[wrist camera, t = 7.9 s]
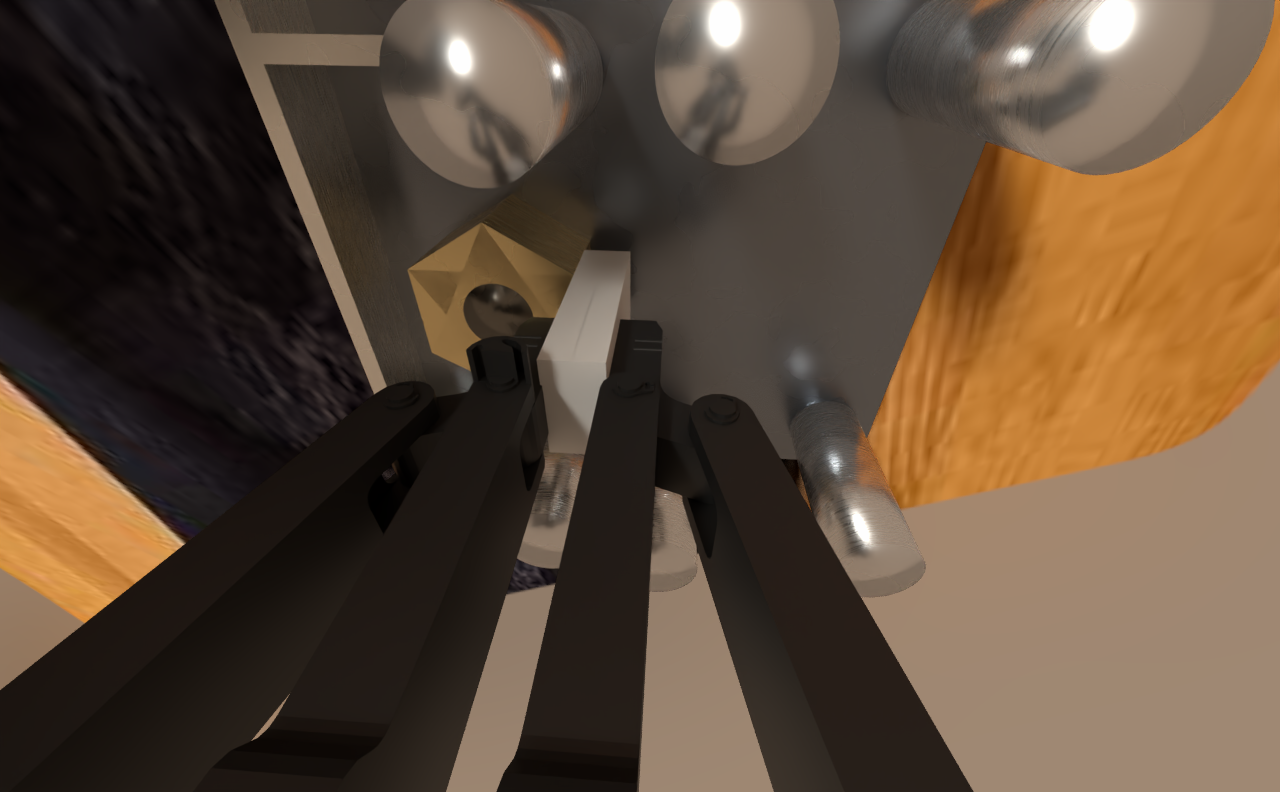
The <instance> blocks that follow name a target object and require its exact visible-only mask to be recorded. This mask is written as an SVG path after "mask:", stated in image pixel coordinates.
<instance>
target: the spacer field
mask: <svg viewBox="0 0 1280 792" xmlns="http://www.w3.org/2000/svg"><path fill="white" fill-rule="evenodd" d="M214 1H215V3H216V6H217V8H218V11H219V13H220V16H221V18H222V20H223V23H224V25H225V28H226V30H227V33H228V35H229V38H230V40H231V43H232V45H233V48H234V50H235V53H236V55H237V57H238V60H239V62H240V65H241V67H242V70H243V72H244V75H245V77H246V80H247V82H248V85H249V87H250V89H251V92H252V94H253V97H254V99H255V102H256V104H257V107H258V109H259V112H260V114H261V117H262V119H263V121H264V124H265V126H266V129H267V131H268V134H269V136H270V139H271V141H272V144H273V146H274V149H275V151H276V153H277V156H278V158H279V161H280V163H281V166H282V168H283V171H284V173H285V176H286V178H287V181H288V183H289V186H290V188H291V190H292V193H293V195H294V198H295V200H296V203H297V205H298V208H299V210H300V213H301V215H302V218H303V220H304V222H305V225H306V227H307V230H308V232H309V235H310V237H311V240H312V242H313V245H314V247H315V250H316V252H317V254H318V257H319V259H320V262H321V264H322V267H323V269H324V272H325V274H326V277H327V279H328V282H329V284H330V286H331V289H332V291H333V294H334V296H335V299H336V301H337V304H338V306H339V309H340V311H341V314H342V316H343V319H344V321H345V323H346V326H347V328H348V331H349V333H350V336H351V338H352V341H353V343H354V346H355V348H356V351H357V353H358V355H359V358H360V360H361V363H362V365H363V368H364V370H365V373H366V375H367V378H368V380H369V383H370V385H371V387H372V390H373V392H374V394H375V393H377V392H379V391H380V390H382V389H384V388H385V387H387V386H390V385H393V384H396V383H399V382H405V381H419V382H424V383H426V384H429V385H430V386H431V387H432V388H433V389H434V391H435V395H436V397H440V396H447V395H453V394H459V393H464V392H468V390H469V388H470V387H471V385H472V383H473V378H472V374H471V371H469V370H467V369H465V368H463V367H461V366H459V365H457V364H455V363H452V362H450V361H448V360H446V359H444V358H442V357H440V356H438V355H436V354H434V353H432V351H431V348H430V344H429V341H428V338H427V334H426V331H425V328H424V324H423V321H422V317H421V314H420V311H419V307H418V304H417V300H416V297H415V294H414V290H413V287H412V283H411V280H410V277H409V273H408V270H407V269H409V268H410V267H411V266H412V265H413V264H414V263H416V262H417V261H418V260H419V259H420V258H421V257H423V256H424V255H425V254H426V253H427V252H428V251H429V250H431V249H432V248H433V247H434V246H435V245H436V244H438V243H439V242H440V241H441V240H442V239H443V238H445V237H446V236H447V235H449V234H450V233H452V232H453V231H455V230H456V229H458V228H459V227H461V226H463V225H464V224H466V223H467V222H469V221H470V220H472V219H473V218H475V217H477V216H478V215H480V214H481V213H483V212H484V211H486V210H487V209H489V208H491V207H492V206H494V205H495V204H497V203H498V202H500V201H501V200H503V199H505V198H506V197H508V196H509V195H511V194H512V195H514V196H516V197H518V198H519V199H521V200H523V201H524V202H526V203H528V204H529V205H531V206H533V207H534V208H536V209H538V210H539V211H541V212H543V213H544V214H546V215H548V216H550V217H551V218H553V219H555V220H556V221H558V222H560V223H561V224H563V225H565V226H566V227H568V228H570V229H571V230H573V231H575V232H576V233H578V234H580V235H581V236H583V237H585V238H587V239H588V240H590V248H591V250H601V251H630V320H651V321H656V322H657V323H658V324H659V326H660V327H661V328H662V330H663V336H662V357H661V379H660V384H661V387H662V389H663V391H664V392H665V393H666V394H667V395H668V396H669V397H671V398H673V399H674V400H676V401H679V402H682V403H685V404H689V405H692V404H693V402H694V401H696V400H697V399H699V398H700V397H702V396H706V395H710V394H726V395H730V396H733V397H737V398H738V399H740V400H742V401H744V402H746V403H747V404H748V406H749V407H750V408H751V409H752V410H753V412H754V413H755V415H756V417H757V419H758V420H759V422H760V424H761V426H762V427H763V429H764V431H765V432H766V434H767V436H768V438H769V439H770V441H771V443H772V445H773V446H774V448H775V450H776V451H777V453H778V455H779V457H780V458H781V459H796V460H797V461H798V465H799V468H800V472H801V475H802V479H803V482H804V486H805V489H806V493H807V496H808V500H809V503H810V507H811V511H812V514H813V515H814V517H815V519H816V521H817V522H818V524H819V526H820V528H821V529H822V531H823V533H824V534H825V536H826V538H827V540H828V541H829V543H830V545H831V547H832V548H833V550H834V552H835V553H836V555H837V557H838V559H839V560H840V562H841V564H842V566H843V567H844V569H845V571H846V572H847V574H848V576H849V578H850V579H851V581H852V583H853V585H854V586H855V588H856V590H857V591H858V593H859V595H860V597H880V596H886V595H891V594H894V593H898V592H900V591H903V590H905V589H907V588H909V587H911V586H912V585H914V584H915V583H916V582H918V581H919V580H920V579H921V577H922V576H923V574H924V572H925V569H926V564H925V561H924V559H923V557H922V555H921V553H920V550H919V548H918V546H917V544H916V542H915V540H914V538H913V536H912V534H911V532H910V529H909V527H908V525H907V523H906V521H905V519H904V516H903V514H902V512H901V510H900V508H899V506H898V504H897V502H896V499H895V497H894V495H893V493H892V491H891V489H890V487H889V485H888V482H887V480H886V478H885V476H884V474H883V472H882V470H881V468H880V465H879V463H878V461H877V459H876V457H875V455H874V453H873V451H872V448H871V446H870V444H869V442H868V440H867V436H868V434H869V431H870V429H871V426H872V424H873V421H874V419H875V416H876V414H877V411H878V409H879V407H880V404H881V402H882V399H883V397H884V394H885V392H886V389H887V387H888V384H889V382H890V379H891V377H892V374H893V372H894V369H895V367H896V364H897V362H898V359H899V357H900V354H901V352H902V349H903V347H904V344H905V342H906V339H907V337H908V335H909V332H910V330H911V327H912V325H913V322H914V320H915V317H916V315H917V312H918V310H919V307H920V305H921V302H922V300H923V297H924V295H925V292H926V290H927V287H928V285H929V282H930V280H931V277H932V275H933V272H934V270H935V268H936V265H937V263H938V260H939V258H940V255H941V253H942V250H943V248H944V245H945V243H946V240H947V238H948V235H949V233H950V230H951V228H952V225H953V223H954V220H955V218H956V215H957V213H958V210H959V208H960V205H961V203H962V201H963V198H964V196H965V193H966V191H967V188H968V186H969V183H970V181H971V178H972V176H973V173H974V171H975V168H976V166H977V163H978V161H979V158H980V156H981V153H982V151H983V148H984V146H985V143H986V142H989V143H992V144H995V145H998V146H1001V147H1004V148H1006V149H1009V150H1012V151H1015V152H1018V153H1021V154H1024V155H1027V156H1030V157H1033V158H1036V159H1039V160H1042V161H1045V162H1048V163H1050V164H1053V165H1056V166H1059V167H1062V168H1065V169H1068V170H1071V171H1074V172H1078V173H1082V174H1089V175H1107V174H1113V173H1119V172H1123V171H1126V170H1130V169H1133V168H1136V167H1139V166H1141V165H1144V164H1146V163H1148V162H1151V161H1153V160H1155V159H1157V158H1159V157H1161V156H1163V155H1164V154H1166V153H1168V152H1169V151H1171V150H1173V149H1174V148H1176V147H1177V146H1179V145H1180V144H1182V143H1183V142H1185V141H1186V140H1188V139H1189V138H1190V137H1192V136H1193V135H1194V134H1195V133H1197V132H1198V131H1199V130H1200V129H1202V128H1203V127H1204V126H1205V125H1206V124H1207V123H1208V122H1209V121H1210V120H1211V119H1213V118H1214V117H1215V116H1216V115H1217V114H1218V113H1219V111H1220V110H1221V109H1222V108H1223V107H1224V106H1225V105H1226V104H1227V103H1228V102H1229V101H1230V99H1231V98H1232V97H1233V96H1234V95H1235V93H1236V92H1237V91H1238V90H1239V88H1240V87H1241V85H1242V84H1243V82H1244V81H1245V80H1246V78H1247V77H1248V75H1249V74H1250V72H1251V70H1252V69H1253V67H1254V65H1255V64H1256V62H1257V60H1258V58H1259V56H1260V54H1261V52H1262V50H1263V47H1264V45H1265V43H1266V40H1267V37H1268V34H1269V31H1270V28H1271V23H1272V19H1273V14H1274V2H1275V0H214ZM543 452H544V458H545V468H544V472H543V475H542V478H541V482H540V485H539V488H538V491H537V495H536V498H535V501H534V505H533V508H532V511H531V514H530V518H529V521H528V524H527V527H526V531H525V534H524V537H523V541H522V544H521V547H520V550H519V554H518V557H517V559H519V560H521V561H523V562H525V563H527V564H530V565H533V566H537V567H542V568H559V566H560V561H561V557H562V553H563V548H564V544H565V539H566V535H567V530H568V526H569V522H570V517H571V513H572V508H573V504H574V500H575V495H576V491H577V486H578V482H579V477H580V473H581V469H582V464H583V460H584V455H585V454H573V453H554V452H550V451H549V444H548V437H547V440H546V443H545V446H544V449H543ZM696 573H697V549H696V543H695V540H694V537H693V534H692V530H691V527H690V524H689V521H688V518H687V515H686V511H685V508H684V505H683V502H682V495H679V494H676V493H673V492H670V491H667V490H664V489H661V488H658V487H655V497H654V515H653V534H652V553H651V571H650V590H649V591H652V592H661V591H662V592H663V591H670V590H675V589H678V588H681V587H683V586H685V585H687V584H688V583H689V582H691V581H692V579H694V577H695V575H696Z"/></svg>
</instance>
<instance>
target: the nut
mask: <svg viewBox="0 0 1280 792" xmlns="http://www.w3.org/2000/svg"><path fill="white" fill-rule="evenodd" d="M584 250H591V248H590V240H588V239H587V238H585V237H583V236H581V235H580V234H578V233H576V232H575V231H573V230H571V229H570V228H568V227H566V226H565V225H563V224H561V223H560V222H558V221H556V220H555V219H553V218H551V217H550V216H548V215H546V214H544V213H543V212H541V211H539V210H538V209H536V208H534V207H533V206H531V205H529V204H528V203H526V202H524V201H523V200H521V199H519V198H518V197H516V196H514V195H512V194H511V195H509V196H508V197H506V198H505V199H503V200H501V201H500V202H498V203H497V204H495V205H494V206H492V207H491V208H489V209H487V210H486V211H484V212H483V213H481V214H480V215H478V216H477V217H475V218H473V219H472V220H470V221H469V222H467V223H466V224H464V225H463V226H461V227H459V228H458V229H456V230H455V231H453V232H452V233H450V234H449V235H447V236H446V237H445V238H443V239H442V240H441V241H440V242H439V243H438V244H436V245H435V246H434V247H433V248H432V249H431V250H429V251H428V252H427V253H426V254H425V255H424V256H423V257H421V258H420V259H419V260H418V261H417V262H416V263H414V264H413V265H412V266H411V267H410V268H409V269H407V270H408V273H409V277H410V280H411V283H412V287H413V290H414V294H415V297H416V300H417V304H418V307H419V311H420V314H421V317H422V321H423V324H424V328H425V331H426V334H427V338H428V341H429V344H430V348H431V351H432V353H434V354H436V355H438V356H440V357H442V358H444V359H446V360H448V361H450V362H452V363H455V364H457V365H459V366H461V367H463V368H465V369H467V370H469V371H471V370H470V365H469V361H468V357H467V353H466V349H467V348H468V347H470V346H471V345H472V344H473V343H475V342H477V341H479V340H481V339H485V338H489V337H493V336H510V337H514V335H515V333H516V332H517V330H518V328H519V326H520V325H521V324H523V323H524V322H525V321H527V320H528V319H530V318H531V317H546V318H555V316H556V314H557V312H558V310H559V307H560V305H561V303H562V300H563V298H564V296H565V293H566V291H567V289H568V287H569V284H570V282H571V280H572V277H573V275H574V273H575V271H576V268H577V266H578V264H579V261H580V259H581V257H582V255H583V252H584Z"/></svg>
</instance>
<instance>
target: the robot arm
mask: <svg viewBox="0 0 1280 792" xmlns="http://www.w3.org/2000/svg"><path fill="white" fill-rule="evenodd" d="M662 336H663V330H662V328H661V327H660V326H659V324H658V323H657V322H656V321H651V320H630V251H601V250H584V252H583V255H582V257H581V259H580V261H579V264H578V266H577V268H576V271H575V273H574V275H573V277H572V280H571V282H570V284H569V287H568V289H567V291H566V293H565V296H564V298H563V300H562V303H561V305H560V307H559V310H558V312H557V314H556V316H555V318H546V317H531V318H530V319H528V320H527V321H525V322H524V323H523V324H521V325H520V326H519V328H518V330H517V332H516V333H515V335H514V337H510V336H493V337H489V338H485V339H481V340H479V341H477V342H475V343H473V344H472V345H471V346H470V347H468V348H467V349H466V353H467V357H468V361H469V365H470V370H471V374H472V378H473V383H472V385H471V387H470V388H469V390H468V392H464V393H459V394H453V395H447V396H440V397H436V395H435V391H434V389H433V388H432V387H431V386H430V385H429V384H426V383H424V382H419V381H405V382H399V383H396V384H393V385H390V386H387V387H385V388H384V389H382V390H380V391H379V392H377V393H375V394H374V395H373V396H372V397H370V398H369V399H368V400H367V401H365V402H364V403H363V404H362V405H360V406H359V407H358V408H357V409H355V410H354V411H353V412H351V413H350V414H349V415H348V416H346V417H345V418H344V419H343V420H341V421H340V422H339V423H338V424H336V425H335V426H334V427H332V428H331V429H330V430H329V431H327V432H326V433H325V434H324V435H322V436H321V437H320V438H319V439H317V440H316V441H315V442H314V443H312V444H311V445H310V446H308V447H307V448H306V449H305V450H303V451H302V452H301V453H300V454H298V455H297V456H296V457H295V458H293V459H292V460H291V461H289V462H288V463H287V464H286V465H284V466H283V467H282V468H281V469H279V470H278V471H277V472H276V473H274V474H273V475H272V476H271V477H269V478H268V479H267V480H265V481H264V482H263V483H262V484H260V485H259V486H258V487H257V488H255V489H254V490H253V491H252V492H250V493H249V494H248V495H247V496H245V497H244V498H243V499H241V500H240V501H239V502H238V503H236V504H235V505H234V506H233V507H231V508H230V509H229V510H228V511H226V512H225V513H224V514H222V515H221V516H220V517H219V518H217V519H216V520H215V521H214V522H212V523H211V524H210V525H209V526H207V527H206V528H205V529H204V530H202V531H201V532H200V533H198V534H197V535H196V536H195V537H193V538H192V539H191V540H190V541H188V542H187V543H186V544H185V545H183V546H182V547H181V548H179V549H178V550H177V551H176V552H174V553H173V554H172V555H171V556H169V557H168V558H167V559H166V560H164V561H163V562H162V563H161V564H159V565H158V566H157V567H155V568H154V569H153V570H152V571H150V572H149V573H148V574H147V575H145V576H144V577H143V578H142V579H140V580H139V581H138V582H136V583H135V584H134V585H133V586H131V587H130V588H129V589H128V590H126V591H125V592H124V593H123V594H121V595H120V596H119V597H118V598H116V599H115V600H114V601H112V602H111V603H110V604H109V605H107V606H106V607H105V608H104V609H102V610H101V611H100V612H99V613H97V614H96V615H95V616H93V617H92V618H91V619H90V620H88V621H87V622H86V623H85V624H83V625H82V626H81V627H80V628H78V629H77V630H76V631H75V632H73V633H72V634H71V635H69V636H68V637H67V638H66V639H64V640H63V641H62V642H61V643H59V644H58V645H57V646H56V647H54V648H53V649H52V650H50V651H49V652H48V653H47V654H45V655H44V656H43V657H42V658H40V659H39V660H38V661H37V662H35V663H34V664H33V665H32V666H30V667H29V668H28V669H27V670H25V671H24V672H23V673H21V674H20V675H19V676H18V677H16V678H15V679H14V680H13V681H11V682H10V683H9V684H8V685H6V686H5V687H4V688H2V689H1V690H0V792H446V790H447V786H448V783H449V780H450V777H451V773H452V770H453V767H454V763H455V760H456V757H457V754H458V750H459V747H460V744H461V741H462V737H463V734H464V731H465V727H466V724H467V721H468V718H469V714H470V711H471V708H472V704H473V701H474V698H475V695H476V691H477V688H478V685H479V681H480V678H481V675H482V672H483V668H484V665H485V662H486V659H487V655H488V652H489V649H490V645H491V642H492V639H493V636H494V632H495V629H496V626H497V622H498V619H499V616H500V613H501V609H502V606H503V603H504V600H505V596H506V593H507V590H508V586H509V583H510V580H511V577H512V573H513V570H514V567H515V564H516V560H517V557H518V554H519V550H520V547H521V544H522V541H523V537H524V534H525V531H526V527H527V524H528V521H529V518H530V514H531V511H532V508H533V505H534V501H535V498H536V495H537V491H538V488H539V485H540V482H541V478H542V475H543V472H544V468H545V458H544V452H543V449H544V446H545V443H546V440H547V437H548V444H549V451H550V452H554V453H573V454H585V455H584V460H583V464H582V469H581V473H580V477H579V482H578V486H577V491H576V495H575V500H574V504H573V508H572V513H571V517H570V522H569V526H568V530H567V535H566V539H565V544H564V548H563V553H562V557H561V561H560V566H559V570H558V575H557V579H556V584H555V589H554V592H553V597H552V601H551V606H550V610H549V615H548V619H547V624H546V628H545V633H544V637H543V641H542V645H541V650H540V655H539V659H538V663H537V668H536V672H535V676H534V681H533V686H532V690H531V694H530V699H529V703H528V707H527V712H526V716H525V721H524V725H523V730H522V734H521V738H520V742H519V745H518V749H517V751H516V754H515V757H514V759H513V760H512V762H511V763H510V765H509V766H508V768H507V769H506V770H505V772H504V774H503V776H502V779H501V781H500V784H499V787H498V789H497V792H639V775H640V757H641V738H642V720H643V700H644V682H645V664H646V645H647V627H648V608H649V590H650V571H651V553H652V534H653V515H654V497H655V487H658V488H661V489H664V490H667V491H670V492H673V493H676V494H679V495H682V502H683V505H684V508H685V511H686V515H687V518H688V521H689V524H690V527H691V530H692V534H693V537H694V540H695V543H696V546H697V549H698V553H699V556H700V559H701V562H702V565H703V568H704V572H705V574H706V578H707V581H708V584H709V587H710V590H711V593H712V597H713V600H714V603H715V606H716V609H717V612H718V616H719V619H720V622H721V625H722V629H723V632H724V635H725V638H726V641H727V644H728V648H729V651H730V654H731V657H732V660H733V663H734V667H735V670H736V673H737V676H738V679H739V682H740V686H741V688H742V692H743V695H744V698H745V701H746V705H747V708H748V711H749V714H750V717H751V720H752V724H753V727H754V729H755V733H756V736H757V739H758V743H759V745H760V749H761V752H762V755H763V758H764V762H765V765H766V768H767V771H768V774H769V777H770V781H771V784H772V787H773V789H774V792H973V790H972V789H971V787H970V785H969V783H968V782H967V780H966V778H965V776H964V775H963V773H962V771H961V770H960V768H959V766H958V764H957V763H956V761H955V759H954V757H953V756H952V754H951V752H950V750H949V749H948V747H947V745H946V744H945V742H944V740H943V738H942V737H941V735H940V733H939V732H938V730H937V728H936V726H935V725H934V723H933V721H932V720H931V718H930V716H929V714H928V712H927V711H926V709H925V707H924V705H923V704H922V702H921V700H920V699H919V697H918V695H917V693H916V692H915V690H914V688H913V687H912V685H911V683H910V681H909V680H908V678H907V676H906V674H905V673H904V671H903V669H902V667H901V666H900V664H899V662H898V661H897V659H896V657H895V656H894V654H893V652H892V650H891V649H890V647H889V645H888V643H887V642H886V640H885V638H884V637H883V635H882V633H881V631H880V629H879V628H878V626H877V624H876V623H875V621H874V619H873V617H872V616H871V614H870V612H869V610H868V609H867V607H866V605H865V604H864V602H863V600H862V598H861V597H860V595H859V593H858V591H857V590H856V588H855V586H854V585H853V583H852V581H851V579H850V578H849V576H848V574H847V572H846V571H845V569H844V567H843V566H842V564H841V562H840V560H839V559H838V557H837V555H836V553H835V552H834V550H833V548H832V547H831V545H830V543H829V541H828V540H827V538H826V536H825V534H824V533H823V531H822V529H821V528H820V526H819V524H818V522H817V521H816V519H815V517H814V515H813V514H812V512H811V510H810V509H809V507H808V505H807V503H806V502H805V500H804V498H803V496H802V495H801V493H800V491H799V490H798V488H797V486H796V484H795V483H794V481H793V479H792V477H791V476H790V474H789V472H788V470H787V469H786V467H785V465H784V464H783V462H782V460H781V458H780V457H779V455H778V453H777V451H776V450H775V448H774V446H773V445H772V443H771V441H770V439H769V438H768V436H767V434H766V432H765V431H764V429H763V427H762V426H761V424H760V422H759V420H758V419H757V417H756V415H755V413H754V412H753V410H752V409H751V408H750V407H749V406H748V404H747V403H746V402H744V401H742V400H740V399H738V398H737V397H733V396H730V395H726V394H710V395H706V396H702V397H700V398H699V399H697V400H696V401H694V402H693V404H692V405H689V404H685V403H682V402H679V401H676V400H674V399H673V398H671V397H669V396H668V395H667V394H666V393H665V392H664V391H663V389H662V387H661V384H660V379H661V357H662ZM391 465H392V466H393V468H394V471H395V474H394V475H393V476H392V477H391V478H389V479H388V480H386V481H385V480H384V479H383V477H382V475H381V474H382V473H383V472H384V471H385V470H386V469H387V468H389V467H390V466H391ZM289 694H290V695H289ZM288 695H289V696H288ZM287 696H288V698H287ZM286 698H287V700H286V702H285V703H284V705H283V707H282V709H281V710H280V712H279V714H278V715H277V717H276V718H275V720H274V721H273V722H272V724H271V725H270V727H269V728H268V729H267V730H266V731H265V732H264V733H263V734H262V735H260V736H259V737H258V738H257V739H255V740H253V741H251V740H252V739H253V738H254V737H255V735H256V734H257V733H258V732H259V730H260V729H261V728H262V727H263V726H264V724H265V723H266V722H267V721H268V720H269V718H270V717H271V716H272V715H273V713H274V712H275V711H276V710H277V709H278V707H279V706H280V705H281V704H282V702H283V701H284V700H285V699H286Z"/></svg>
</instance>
